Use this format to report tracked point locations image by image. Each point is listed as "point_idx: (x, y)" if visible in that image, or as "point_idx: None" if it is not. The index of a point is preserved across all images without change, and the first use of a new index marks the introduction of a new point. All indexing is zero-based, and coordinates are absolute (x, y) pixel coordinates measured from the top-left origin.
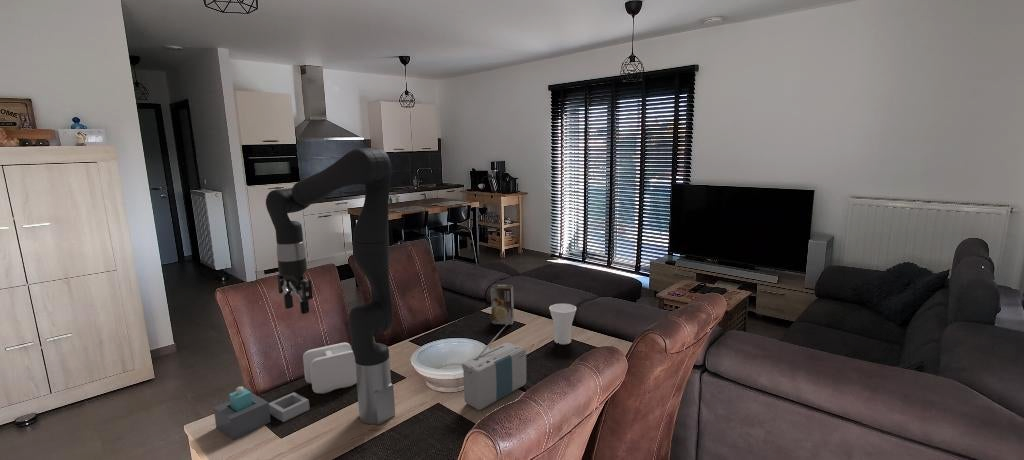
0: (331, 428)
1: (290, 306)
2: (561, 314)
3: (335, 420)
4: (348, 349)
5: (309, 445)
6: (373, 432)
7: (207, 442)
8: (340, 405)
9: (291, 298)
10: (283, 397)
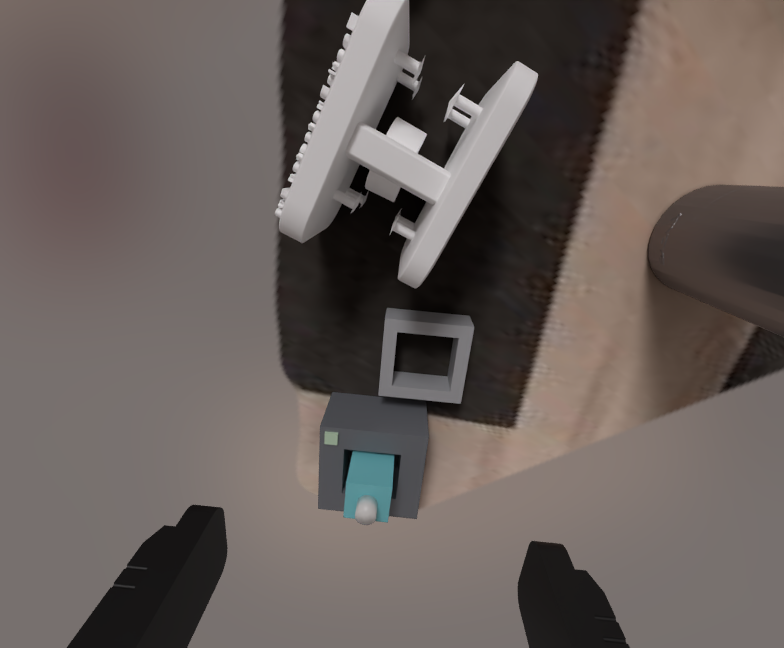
0: (607, 349)
1: (216, 540)
2: None
3: (590, 319)
4: (404, 23)
5: (605, 418)
6: None
7: None
8: (543, 254)
9: (153, 627)
10: (386, 353)
